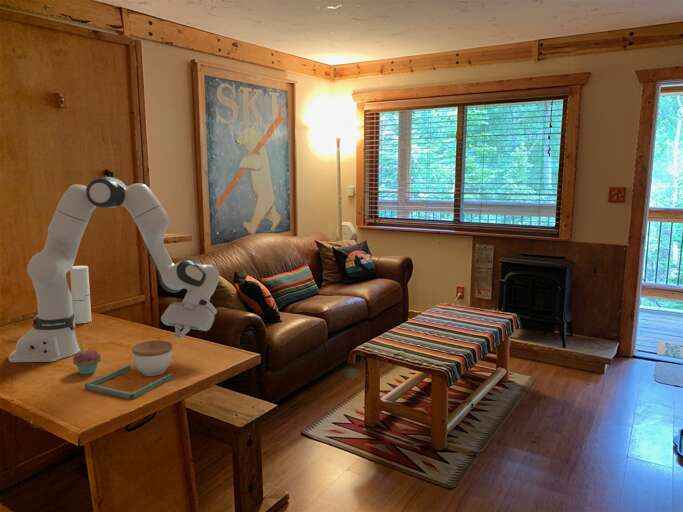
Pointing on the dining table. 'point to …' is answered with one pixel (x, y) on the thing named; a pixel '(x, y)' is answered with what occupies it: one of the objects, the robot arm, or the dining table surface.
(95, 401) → the dining table surface
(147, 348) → the lidded bowl
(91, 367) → the cupcake
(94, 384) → the teal u-shaped frame
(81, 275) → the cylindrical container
